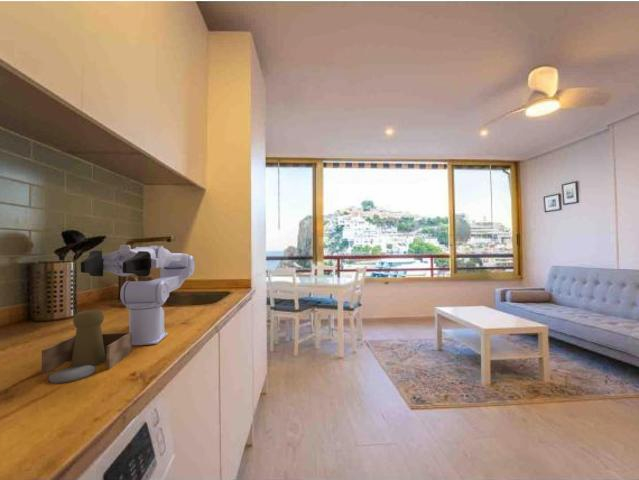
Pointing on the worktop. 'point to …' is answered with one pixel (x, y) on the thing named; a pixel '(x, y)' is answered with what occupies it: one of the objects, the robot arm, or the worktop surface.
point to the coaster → (71, 374)
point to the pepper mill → (88, 339)
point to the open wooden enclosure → (63, 351)
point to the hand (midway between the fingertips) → (103, 267)
